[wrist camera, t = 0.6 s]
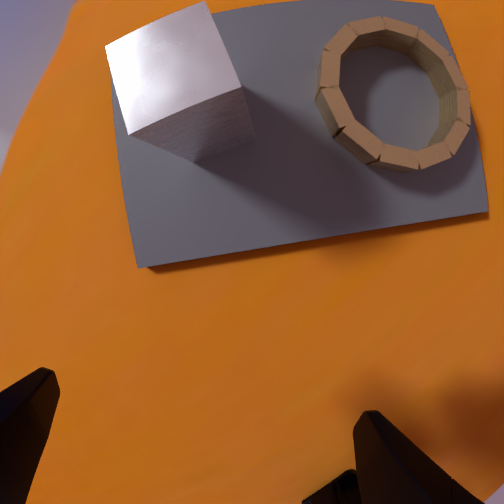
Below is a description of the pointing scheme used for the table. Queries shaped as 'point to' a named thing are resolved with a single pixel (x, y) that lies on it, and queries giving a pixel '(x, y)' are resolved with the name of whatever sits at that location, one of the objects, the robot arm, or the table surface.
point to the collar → (422, 54)
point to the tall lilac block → (180, 86)
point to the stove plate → (300, 143)
